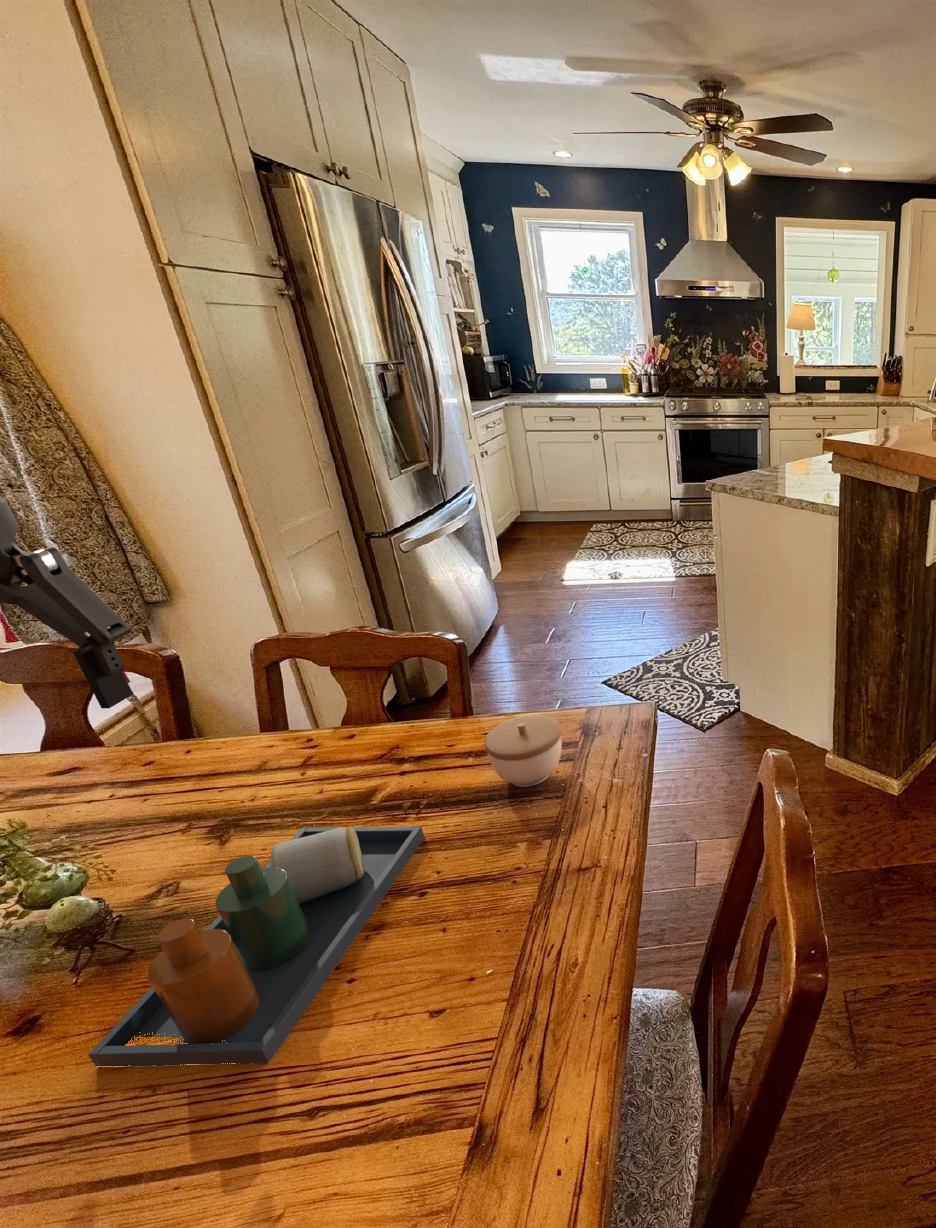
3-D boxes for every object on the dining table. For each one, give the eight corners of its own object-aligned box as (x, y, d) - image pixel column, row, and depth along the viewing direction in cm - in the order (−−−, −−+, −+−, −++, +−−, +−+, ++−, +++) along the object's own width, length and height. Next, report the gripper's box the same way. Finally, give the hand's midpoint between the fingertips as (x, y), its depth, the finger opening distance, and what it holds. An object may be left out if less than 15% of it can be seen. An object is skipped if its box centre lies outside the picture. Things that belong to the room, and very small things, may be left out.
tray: (99, 1072, 62) (87, 1055, 61) (307, 842, 88) (301, 827, 87) (270, 1067, 62) (261, 1050, 61) (425, 840, 89) (421, 826, 88)
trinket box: (579, 774, 103) (571, 724, 99) (511, 807, 96) (500, 755, 92) (547, 745, 110) (539, 697, 106) (482, 774, 102) (470, 724, 98)
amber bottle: (166, 1047, 63) (112, 959, 58) (215, 989, 69) (169, 904, 63) (230, 1045, 64) (182, 957, 58) (274, 987, 69) (233, 903, 64)
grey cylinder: (369, 891, 81) (352, 843, 78) (286, 922, 76) (265, 873, 73) (363, 840, 88) (348, 795, 85) (287, 866, 84) (268, 819, 81)
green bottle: (230, 971, 70) (186, 887, 65) (270, 924, 76) (233, 843, 71) (287, 970, 71) (249, 886, 66) (323, 923, 76) (290, 842, 71)
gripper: (123, 491, 62) (204, 682, 71) (-158, 486, 61) (-40, 682, 70) (42, 513, 55) (142, 721, 64) (-277, 508, 54) (-129, 721, 63)
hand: (48, 701), depth 67 cm, fingers open, 13 cm apart
